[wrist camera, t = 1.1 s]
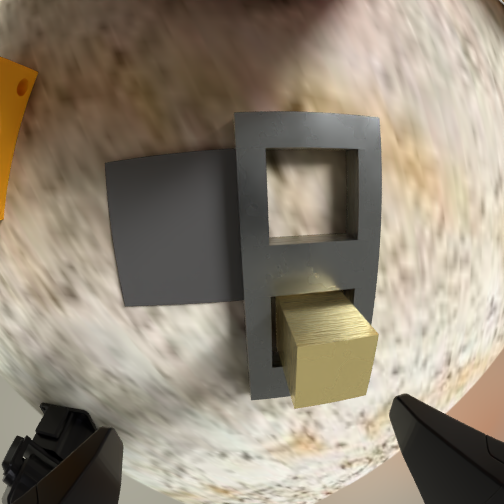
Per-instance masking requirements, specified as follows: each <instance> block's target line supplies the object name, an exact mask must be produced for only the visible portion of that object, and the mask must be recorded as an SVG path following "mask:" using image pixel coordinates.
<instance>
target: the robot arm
mask: <svg viewBox="0 0 504 504" xmlns="http://www.w3.org/2000/svg"><path fill="white" fill-rule="evenodd" d="M40 408H41V410H42V411H43V413H44V416H43V418H42V419H41V422H40V423H39V425H38V426H37V428H36V434H35V436H34V438H33V440H31V438H30V437H28V436H26V437H25V438H23V437H20V436H16V438H15V439H14V441H13V443H12V445H11V447H10V448H9V450H8V452H7V454H6V456H5V458H4V460H3V462H2V467H3V470H4V473H3V475H4V477H3V482H4V483H6V484H7V485H8V486H7V488H6V490H5V493H4V495H3V497H2V503H3V504H118V500H119V494H120V488H121V477H122V460H123V443H122V441H121V439H120V437H119V436H118V434H117V432H116V431H115V429H114V428H113V427H106V426H102V427H100V428H99V429H98V430H97V428H96V426H95V424H94V423H93V421H92V419H91V417H90V415H89V413H88V412H86V411H84V410H79V409H73V408H67V407H61V406H56V405H51V404H46V403H41V405H40ZM389 417H390V421H391V423H392V426H393V429H394V432H395V435H396V438H397V441H398V444H399V447H400V450H401V452H402V455H403V457H404V459H405V462H406V463H407V466H408V468H409V470H410V472H411V474H412V476H413V478H414V481H415V483H416V485H417V487H418V489H419V491H420V494H421V496H422V498H423V500H424V503H425V504H504V442H502V441H499V440H497V439H495V438H493V437H490V436H488V435H485V434H484V433H482V432H480V431H478V430H476V429H474V428H472V427H470V426H468V425H466V424H464V423H462V422H460V421H458V420H456V419H454V418H452V417H450V416H448V415H446V414H444V413H442V412H440V411H438V410H437V409H435V408H433V407H431V406H429V405H427V404H425V403H423V402H421V401H420V400H418V399H416V398H414V397H412V396H410V395H409V394H401V395H398V396H396V397H395V398H394V400H393V403H392V406H391V409H390V413H389ZM23 456H24V457H25V458H26V459H24V458H23Z"/></svg>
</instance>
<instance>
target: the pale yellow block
mask: <svg viewBox="0 0 504 504" xmlns="http://www.w3.org/2000/svg"><path fill="white" fill-rule="evenodd" d="M275 302H276V347H277V350H278V353H279V357H280V360H281V364H282V367H283V371H284V374H285V378H286V381H287V385H288V388H289V392H290V395H291V399H292V402H293V405H294V409H296V408H302V407H309V406H315V405H320V404H326V403H331V402H336V401H341V400H346V399H350V398H355V397H359V396H363V395H366V392H367V388H368V384H369V380H370V375H371V371H372V366H373V361H374V357H375V351H376V346H377V341H378V335H379V334H378V333H377V332H376V331H375V330H374V328H373V327H372V326H371V325H370V324H369V323H368V322H367V320H366V319H365V318H364V317H363V316H362V315H361V314H360V312H359V311H358V310H357V309H356V308H355V307H354V306H353V304H352V303H351V302H350V301H349V300H348V299H347V298H346V297H345V295H344V294H343V293H342V292H341V291H340V290H335V291H326V292H316V293H306V294H296V295H285V296H275Z"/></svg>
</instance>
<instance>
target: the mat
mask: <svg viewBox="0 0 504 504" xmlns="http://www.w3.org/2000/svg"><path fill="white" fill-rule="evenodd" d="M105 172H106V185H107V196H108V205H109V214H110V222H111V230H112V237H113V243H114V250H115V256H116V262H117V267H118V273H119V278H120V283H121V288H122V293H123V298H124V302H125V306H148V305H173V304H193V303H211V302H227V301H241V300H244V297H243V281H242V265H241V248H240V231H239V214H238V195H237V176H236V157H235V149H219V150H205V151H193V152H183V153H173V154H164V155H156V156H148V157H141V158H134V159H127V160H120V161H114V162H108V163H105Z"/></svg>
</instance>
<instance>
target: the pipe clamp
mask: <svg viewBox="0 0 504 504" xmlns="http://www.w3.org/2000/svg"><path fill="white" fill-rule="evenodd" d="M37 75H38V72H37V71H35V70H32V69H30V68H28V67H25V66H23V65H20V64H18V63H16V62H13V61H11V60H8V59H6V58H3V57H0V220H3V219H4V209H5V200H6V193H7V186H8V180H9V174H10V169H11V163H12V158H13V154H14V149H15V145H16V141H17V137H18V133H19V129H20V125H21V122H22V118H23V115H24V112H25V109H26V105H27V102H28V99H29V96H30V93H31V91H32V88H33V85H34V82H35V80H36V77H37Z"/></svg>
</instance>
